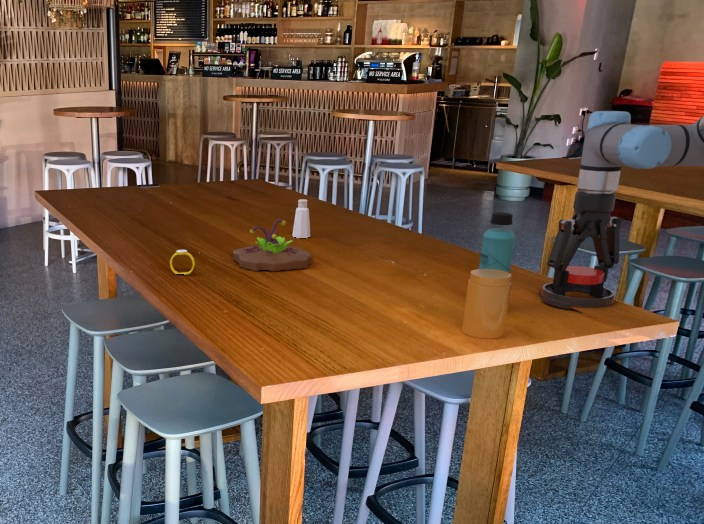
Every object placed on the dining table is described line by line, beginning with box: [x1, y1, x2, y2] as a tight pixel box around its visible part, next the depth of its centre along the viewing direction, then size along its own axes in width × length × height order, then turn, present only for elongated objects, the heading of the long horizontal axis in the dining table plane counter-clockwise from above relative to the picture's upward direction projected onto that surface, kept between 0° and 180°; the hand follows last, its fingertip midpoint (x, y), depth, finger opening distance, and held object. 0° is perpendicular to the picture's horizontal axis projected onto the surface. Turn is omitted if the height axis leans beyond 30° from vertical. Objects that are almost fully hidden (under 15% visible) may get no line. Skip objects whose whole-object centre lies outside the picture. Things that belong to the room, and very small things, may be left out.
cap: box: [566, 265, 604, 285], centre depth 168 cm, size 9×9×2 cm
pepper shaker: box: [291, 198, 311, 239], centre depth 235 cm, size 5×5×11 cm
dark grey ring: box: [539, 281, 616, 312], centre depth 170 cm, size 14×14×3 cm
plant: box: [232, 218, 312, 272], centre depth 205 cm, size 20×20×11 cm
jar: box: [461, 268, 513, 340], centre depth 150 cm, size 8×8×12 cm
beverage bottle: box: [478, 211, 516, 274], centre depth 163 cm, size 6×7×20 cm
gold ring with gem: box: [169, 249, 196, 276], centre depth 194 cm, size 6×3×6 cm, turn 83°
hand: (576, 298), depth 170 cm, fingers closed on cap, 9 cm apart
